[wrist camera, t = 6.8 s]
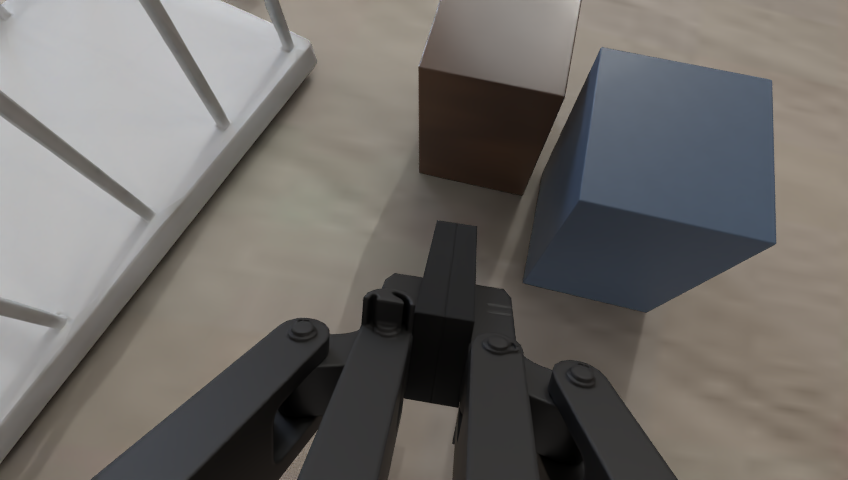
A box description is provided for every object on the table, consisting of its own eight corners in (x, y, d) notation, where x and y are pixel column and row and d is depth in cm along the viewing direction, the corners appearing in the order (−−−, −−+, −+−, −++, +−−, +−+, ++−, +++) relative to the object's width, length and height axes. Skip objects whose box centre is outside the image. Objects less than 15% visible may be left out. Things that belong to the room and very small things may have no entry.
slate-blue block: (522, 283, 23) (579, 200, 15) (542, 172, 26) (601, 46, 17) (646, 313, 23) (777, 244, 14) (655, 196, 25) (772, 79, 17)
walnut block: (418, 173, 26) (418, 67, 18) (444, 85, 28) (453, -42, 20) (522, 196, 25) (565, 97, 18) (540, 105, 27) (585, -18, 20)
